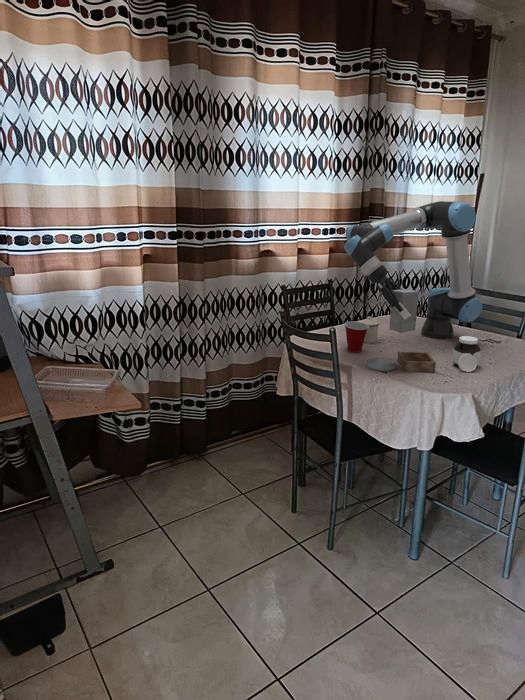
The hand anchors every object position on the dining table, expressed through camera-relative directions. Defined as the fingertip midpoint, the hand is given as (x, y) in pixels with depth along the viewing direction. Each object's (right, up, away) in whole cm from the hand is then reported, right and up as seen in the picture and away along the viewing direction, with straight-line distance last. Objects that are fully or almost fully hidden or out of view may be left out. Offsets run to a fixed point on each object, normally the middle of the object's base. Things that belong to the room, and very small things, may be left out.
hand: (411, 314), depth 189 cm
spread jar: (+24, -21, +7) cm, 33 cm away
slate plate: (-10, -20, +9) cm, 24 cm away
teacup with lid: (-9, -9, +42) cm, 44 cm away
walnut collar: (+4, -20, +9) cm, 22 cm away
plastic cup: (-16, -14, +28) cm, 35 cm away
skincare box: (-3, -6, +3) cm, 7 cm away
